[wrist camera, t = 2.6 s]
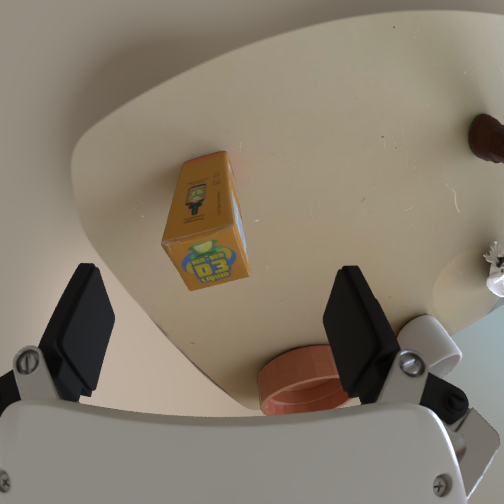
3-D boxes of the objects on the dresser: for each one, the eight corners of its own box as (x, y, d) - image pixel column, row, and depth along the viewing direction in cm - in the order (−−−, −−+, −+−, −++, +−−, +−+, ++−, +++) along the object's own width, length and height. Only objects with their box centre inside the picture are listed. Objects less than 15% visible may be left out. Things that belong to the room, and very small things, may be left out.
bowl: (253, 394, 41) (256, 423, 37) (261, 345, 33) (266, 382, 29) (335, 386, 42) (342, 412, 38) (363, 336, 34) (376, 368, 30)
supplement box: (197, 202, 22) (184, 296, 13) (182, 161, 19) (154, 238, 11) (239, 191, 21) (252, 281, 13) (228, 148, 19) (232, 217, 11)
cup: (439, 333, 38) (460, 371, 31) (398, 357, 40) (416, 398, 33) (435, 298, 32) (463, 344, 25) (384, 329, 34) (407, 379, 28)
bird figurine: (466, 263, 31) (491, 296, 32) (496, 283, 24) (516, 316, 26) (484, 234, 29) (507, 270, 31) (516, 250, 23) (534, 288, 25)
